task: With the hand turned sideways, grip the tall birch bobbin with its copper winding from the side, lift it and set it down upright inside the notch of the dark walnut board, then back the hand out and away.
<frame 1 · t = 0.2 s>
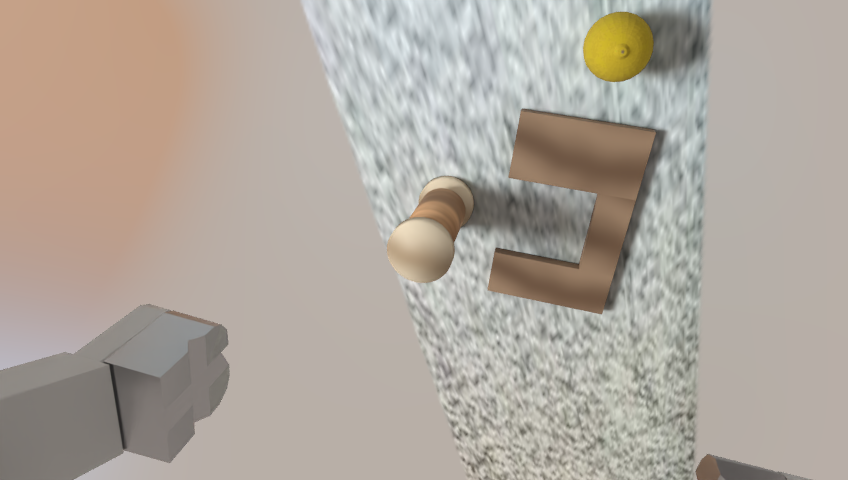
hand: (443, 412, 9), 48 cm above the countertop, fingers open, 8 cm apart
bobbin: (447, 201, 60), on the countertop
notched board: (563, 214, 57), on the countertop
lemon: (613, 43, 50), on the countertop
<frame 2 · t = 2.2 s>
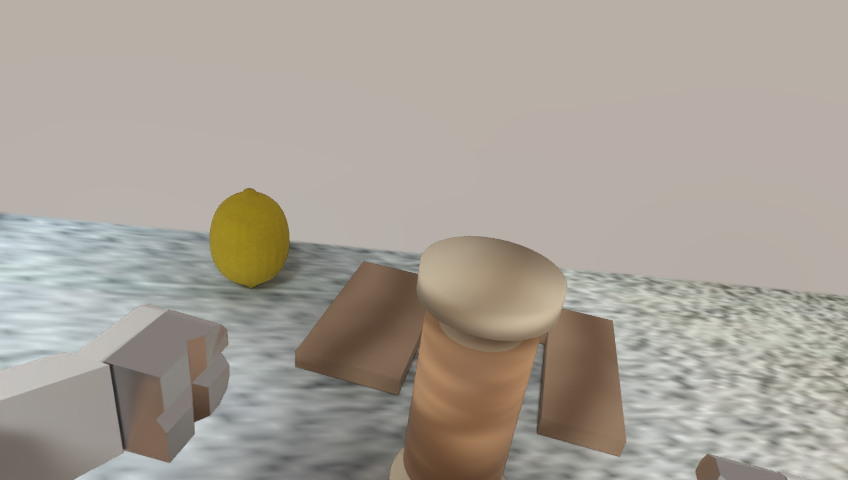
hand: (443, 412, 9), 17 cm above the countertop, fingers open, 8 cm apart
notched board: (467, 348, 39), on the countertop
lemon: (251, 288, 42), on the countertop
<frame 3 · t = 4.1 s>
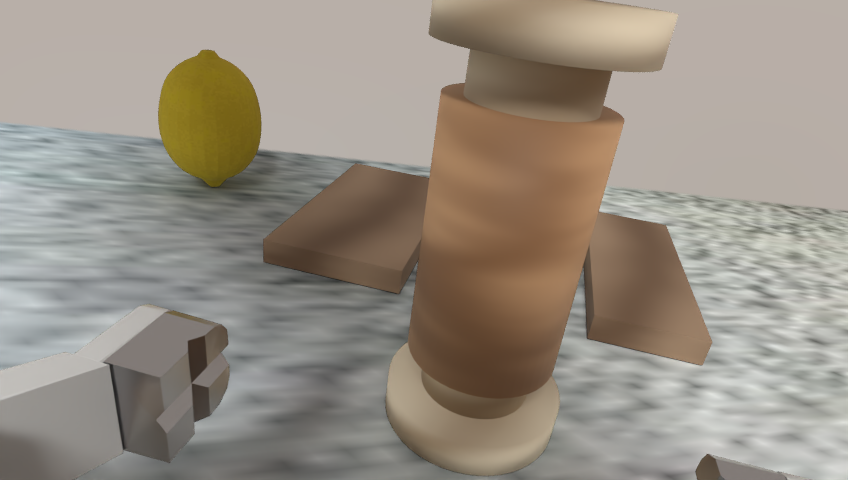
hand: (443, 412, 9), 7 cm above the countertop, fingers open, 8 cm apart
bobbin: (468, 406, 19), on the countertop
notched board: (487, 251, 30), on the countertop
lemon: (214, 189, 34), on the countertop
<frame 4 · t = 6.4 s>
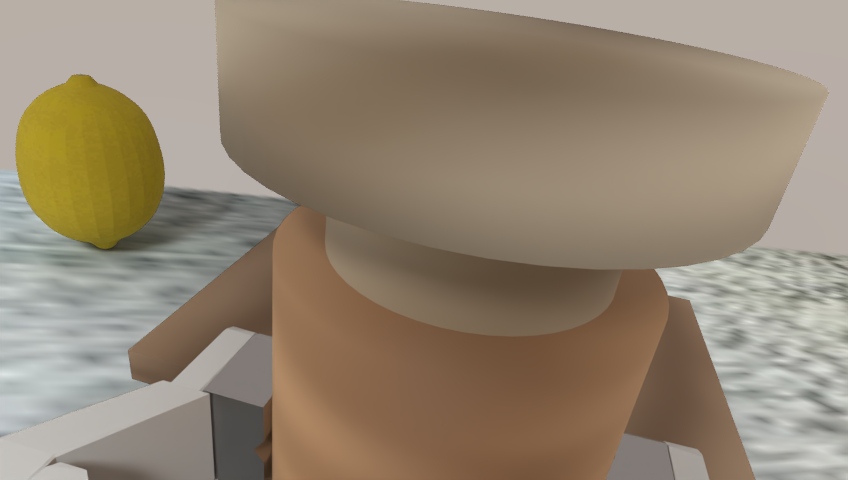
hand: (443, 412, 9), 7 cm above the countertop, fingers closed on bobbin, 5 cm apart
notched board: (453, 345, 23), on the countertop
lemon: (107, 251, 26), on the countertop
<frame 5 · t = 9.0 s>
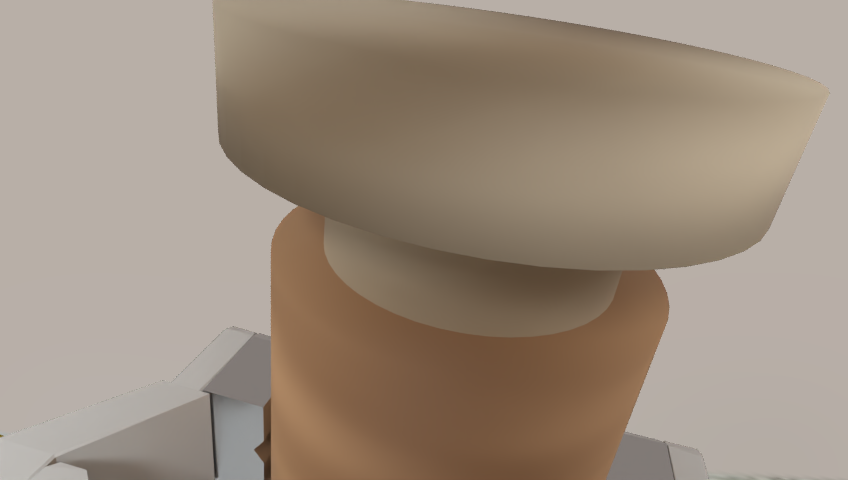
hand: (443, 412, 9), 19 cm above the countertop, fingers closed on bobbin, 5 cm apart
when the fingers open (8 cm above the countertop, at t = 11.7 s): bobbin drops 1 cm, on the countertop.
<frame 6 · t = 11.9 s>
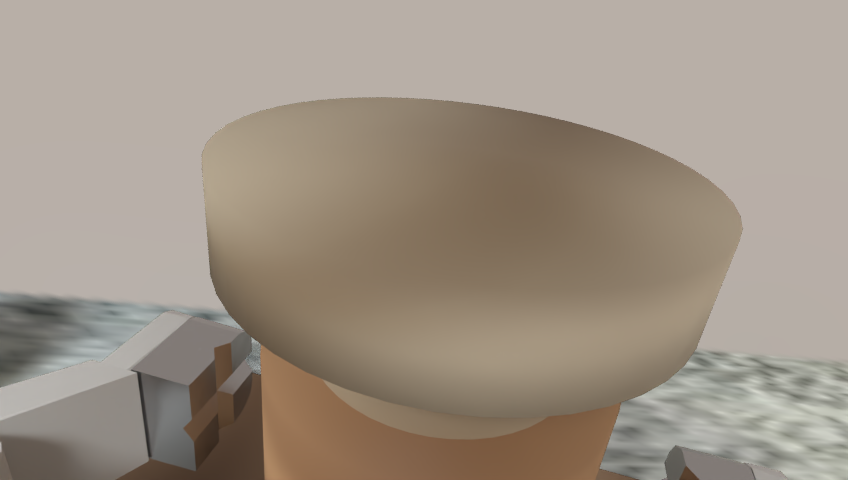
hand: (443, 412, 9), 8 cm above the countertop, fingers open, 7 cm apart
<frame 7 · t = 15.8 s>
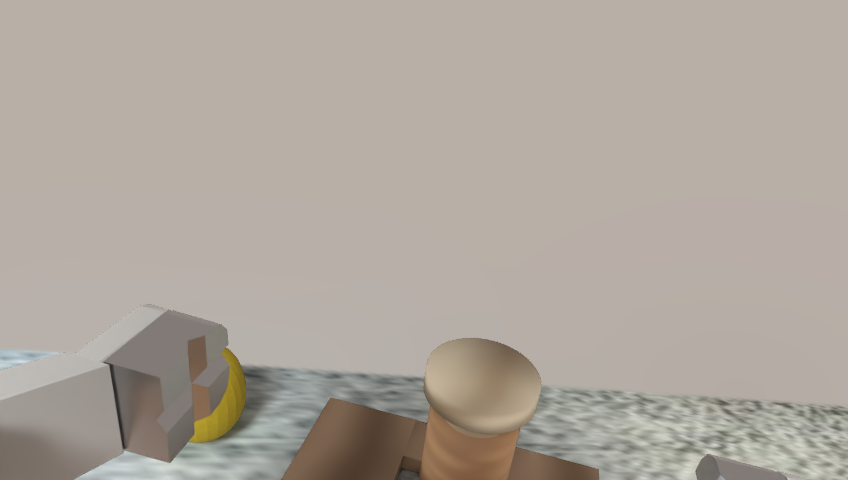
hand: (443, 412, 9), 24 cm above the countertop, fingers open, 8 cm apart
lemon: (206, 438, 39), on the countertop
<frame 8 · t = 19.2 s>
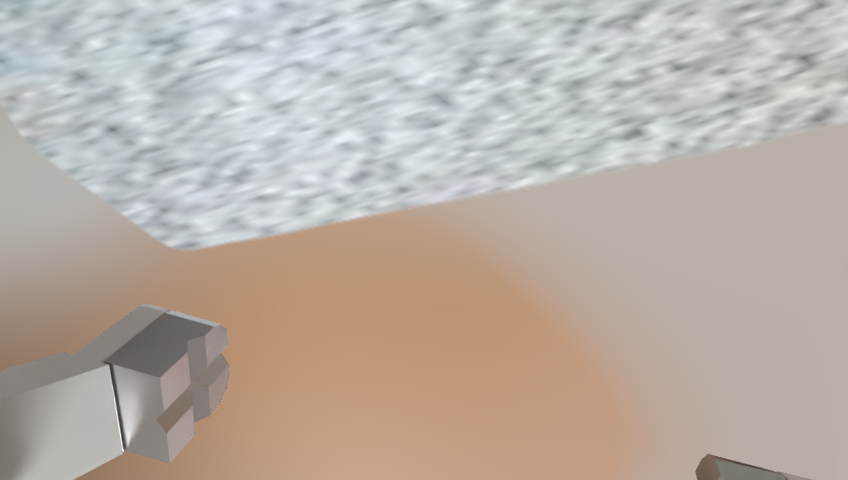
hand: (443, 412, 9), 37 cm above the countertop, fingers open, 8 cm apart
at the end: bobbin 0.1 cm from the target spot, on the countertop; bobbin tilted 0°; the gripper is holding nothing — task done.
